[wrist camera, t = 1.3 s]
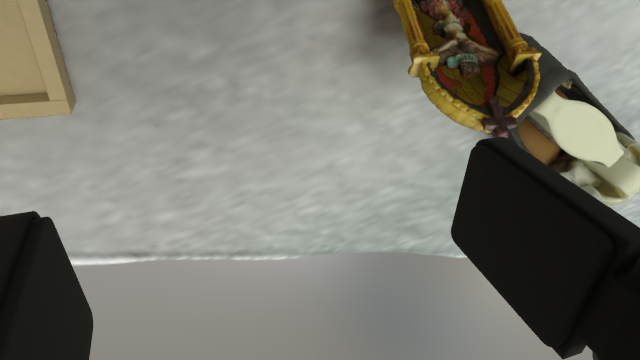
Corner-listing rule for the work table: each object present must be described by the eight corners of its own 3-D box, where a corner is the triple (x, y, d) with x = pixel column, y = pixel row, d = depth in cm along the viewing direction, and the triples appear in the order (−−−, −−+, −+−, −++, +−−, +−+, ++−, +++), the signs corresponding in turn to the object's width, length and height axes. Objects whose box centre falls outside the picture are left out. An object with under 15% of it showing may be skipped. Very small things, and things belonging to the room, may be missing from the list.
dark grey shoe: (564, 206, 55) (636, 261, 47) (413, 107, 38) (484, 165, 30) (625, 143, 52) (714, 190, 43) (489, 5, 35) (591, 39, 27)
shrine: (423, 72, 37) (550, 159, 25) (342, 50, 33) (445, 140, 21) (488, -73, 31) (688, -49, 20) (400, -118, 28) (579, -120, 16)
